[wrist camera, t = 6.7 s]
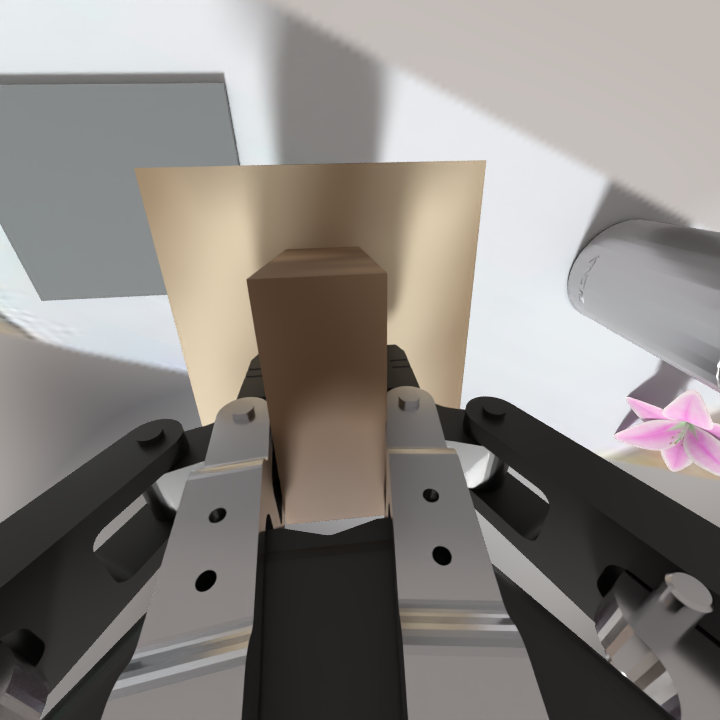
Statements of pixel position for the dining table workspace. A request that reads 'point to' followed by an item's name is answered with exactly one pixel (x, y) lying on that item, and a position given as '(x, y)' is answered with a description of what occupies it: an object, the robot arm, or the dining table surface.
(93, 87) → the mat
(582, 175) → the dining table surface
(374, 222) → the lid
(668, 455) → the lily
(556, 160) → the dining table surface
